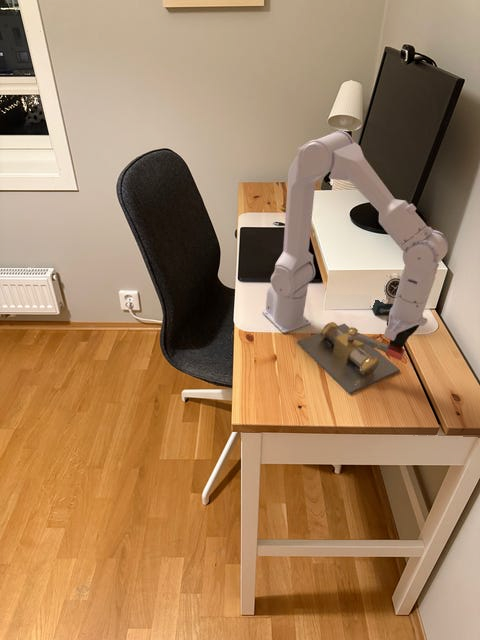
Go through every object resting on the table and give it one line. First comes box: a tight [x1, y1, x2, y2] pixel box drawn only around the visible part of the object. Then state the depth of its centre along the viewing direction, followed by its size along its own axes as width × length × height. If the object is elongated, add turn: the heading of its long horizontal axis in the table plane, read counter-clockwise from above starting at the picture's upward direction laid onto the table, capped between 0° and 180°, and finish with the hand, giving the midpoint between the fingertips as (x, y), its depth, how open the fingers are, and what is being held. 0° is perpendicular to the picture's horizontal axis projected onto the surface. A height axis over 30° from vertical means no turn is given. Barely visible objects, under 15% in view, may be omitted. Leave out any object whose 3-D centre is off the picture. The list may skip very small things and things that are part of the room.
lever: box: [348, 327, 406, 361], centre depth 94 cm, size 12×2×2 cm, turn 56°
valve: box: [296, 321, 401, 395], centre depth 99 cm, size 18×14×5 cm
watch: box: [371, 272, 402, 317], centre depth 111 cm, size 6×8×11 cm
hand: (395, 349), depth 94 cm, fingers closed
